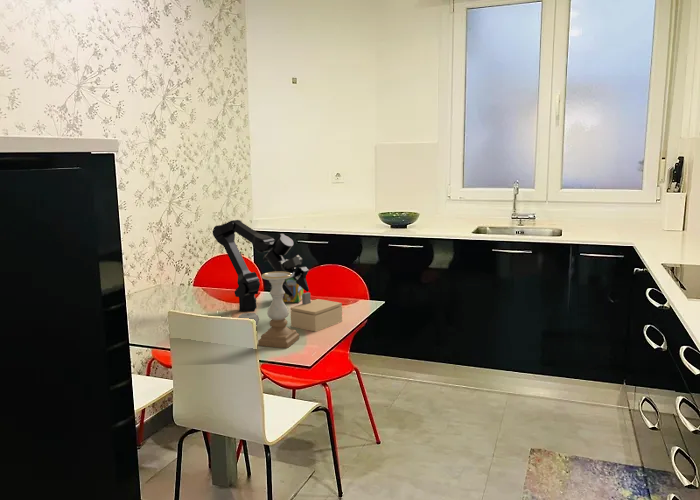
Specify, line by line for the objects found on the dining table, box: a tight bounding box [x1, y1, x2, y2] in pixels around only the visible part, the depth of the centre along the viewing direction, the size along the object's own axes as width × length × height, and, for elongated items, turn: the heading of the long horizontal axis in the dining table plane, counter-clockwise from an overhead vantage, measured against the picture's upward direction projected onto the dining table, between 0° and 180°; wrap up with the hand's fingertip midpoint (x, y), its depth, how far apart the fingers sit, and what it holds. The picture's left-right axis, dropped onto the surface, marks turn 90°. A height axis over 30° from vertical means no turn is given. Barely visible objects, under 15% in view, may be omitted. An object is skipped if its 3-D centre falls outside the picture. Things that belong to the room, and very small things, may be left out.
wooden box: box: [290, 305, 343, 333], centre depth 217 cm, size 12×16×6 cm
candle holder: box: [257, 271, 300, 349], centre depth 194 cm, size 11×11×24 cm
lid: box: [290, 291, 343, 315], centre depth 216 cm, size 12×16×5 cm
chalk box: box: [282, 278, 305, 304], centre depth 253 cm, size 9×9×15 cm
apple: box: [237, 312, 260, 326], centre depth 210 cm, size 8×8×7 cm
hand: (300, 293), depth 220 cm, fingers open, 9 cm apart
